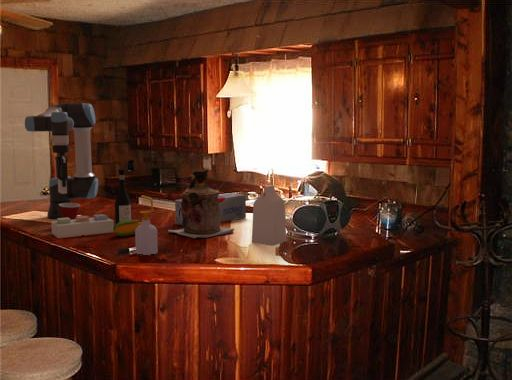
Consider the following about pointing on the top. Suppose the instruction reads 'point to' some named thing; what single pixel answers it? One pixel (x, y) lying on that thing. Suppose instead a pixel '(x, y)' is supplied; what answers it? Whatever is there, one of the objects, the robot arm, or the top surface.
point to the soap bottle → (146, 234)
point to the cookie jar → (200, 209)
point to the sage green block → (63, 220)
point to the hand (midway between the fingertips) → (62, 192)
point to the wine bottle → (122, 201)
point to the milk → (269, 218)
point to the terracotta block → (82, 218)
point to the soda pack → (221, 207)
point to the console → (82, 228)
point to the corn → (126, 228)
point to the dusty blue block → (100, 217)
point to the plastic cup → (69, 210)
